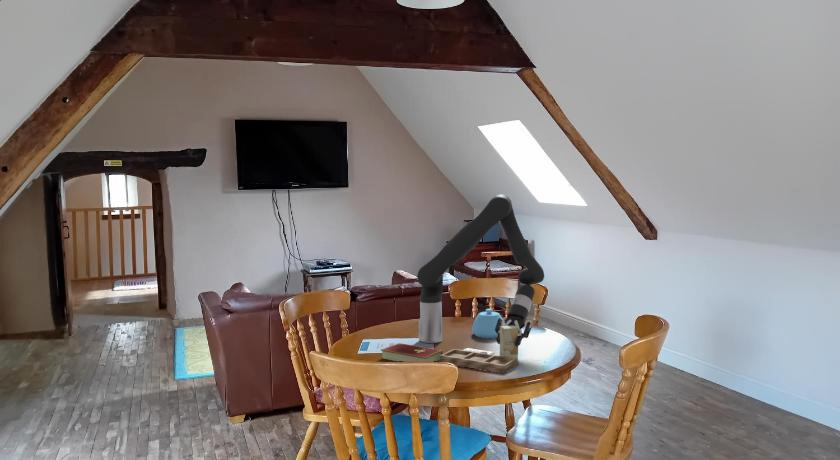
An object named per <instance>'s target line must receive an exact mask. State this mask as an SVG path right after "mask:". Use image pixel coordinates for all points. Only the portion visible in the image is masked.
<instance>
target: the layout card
mask: <svg viewBox="0 0 840 460" xmlns="http://www.w3.org/2000/svg"><path fill="white" fill-rule="evenodd" d="M463 350H465V351H472V352H478V353H485V354H491V355H493V354H494V351H488V350H482V349H475V348H471V347H466V348H464V349H463ZM492 353H493V354H492Z"/></svg>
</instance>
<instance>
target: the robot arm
mask: <svg viewBox="0 0 840 460" xmlns="http://www.w3.org/2000/svg"><path fill="white" fill-rule="evenodd" d="M498 223H500V225H501V227H502V229H503V231H504V234H505V237H506V241H507V245H508V246H509V249H510V251H511V254H512V256H513V258H514V260H515V263H516V264H517V265H521V266H524V267H525V268H523V269H521V270H520V272H519V273H518V278H517V290H516V292H515V295H514V297H513V299H512V302H511V305H510V307H509V310H508V312H507V316H506V318H505V319H503V320H501V318H499V319H498V321H497V324H496V327H495V331H496V333H497V334H498V336H497V338H495V341H496V343H497V344H498V345H500V326H503V324H504V323H505V325H504V326H513V325H514V326H516V327H518V336H517V339H516V341H515V346H516V347H518V348H519V346H521V344H522V341H523V339H527V338H529V335H530V334H531V330H532V327H533V326H532V323H531V322H530V321H527V318H528V315H529V313H530V310H531V306H532V302H533V300H534V297H535V293H536V291H535V288H534V287H533V286H532V285H535V284H539V283H542V282H543V281H544V279H545V273H544V269H543V267H542V266H541V264H540V263H539V262H538V261H537V259H536V258H535V257H534V256H533V255H532V253H531V250H530V248H529V246H528V243H527V241H526V240H525V237H524V236H523V235H524V234H523V233H522V231H521V229H520V226H519V224H518V222H517V219H516V216H515V212H514V209H513V203H512V200H511V199H510V197H509V196H508V195H505V194H502V193H500V194H497V195H494V196H492V198H491V199H490V200H489V202H487V204H486V206H485V207H484V208H483V209H482V211H481V212H480V213H479V214H478V215H477V216H476V217H474V219H472V220H471V221H469V222H468V223H467V224H466V225H464V226H463V227H461V229H460V230H458V231H457V232H456V233H455V234H454V235H453V236H452V237H451V238H450V240H449V241H448V242H447V243H445V245H444V247H442V248H441V250H440V251H439V252H438V253H437V254H436V255H435V256H434V257H433V258H432V259H430V260H429V261H428V262H427V263H426V264H424V265H423V266H421V267H420V268H419V270H418V272H417V277H416V278H417V282H418V283H419V284H420V285H421V293H420V294H419V307H420V309H419V310H420V311H419V314H420V316H419V317H420V318H418V319H417V320H418V321H417V322H418V341H419V342H421V343H426V344H437V343H440V342H442V341H443V316H442V315H443V312H442V310H443V309H442V307H443V305H442V304H443V302H442V296H443V292H444V290H443V289H444V285H443V284H444V277H443V276H444V273H445V272H446V271H447V270H448V269H449V268H450V267H452V266H453V265H455V264H456V263H457V262H459V261H460V260H461V259H463V258H464V257H465V256H466V255H468V254H469V253H470V252H471V251H472V250H473V249H474V248H475V247H476V246H477V245H478V244H479V243H480V241H482V239H483V238H484V237H485V236H486V234H487V233H488V232H489V231H490V229H492V228H493V227H494V226H495V225H496V224H498ZM524 327H525V328H524ZM523 328H524V329H523ZM522 329H523V330H522ZM522 331H523V332H522Z"/></svg>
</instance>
